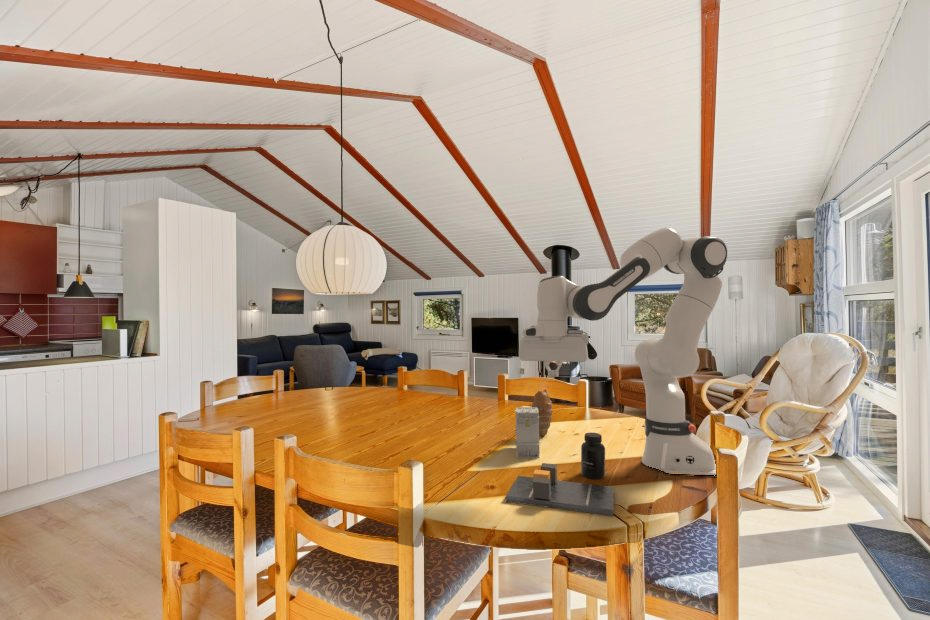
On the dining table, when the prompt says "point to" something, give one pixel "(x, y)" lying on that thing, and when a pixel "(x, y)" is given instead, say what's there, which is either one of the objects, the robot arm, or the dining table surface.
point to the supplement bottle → (593, 456)
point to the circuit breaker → (527, 432)
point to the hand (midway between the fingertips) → (553, 376)
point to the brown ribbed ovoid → (543, 411)
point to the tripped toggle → (541, 474)
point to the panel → (565, 496)
